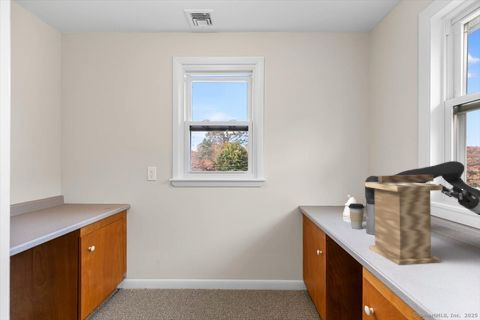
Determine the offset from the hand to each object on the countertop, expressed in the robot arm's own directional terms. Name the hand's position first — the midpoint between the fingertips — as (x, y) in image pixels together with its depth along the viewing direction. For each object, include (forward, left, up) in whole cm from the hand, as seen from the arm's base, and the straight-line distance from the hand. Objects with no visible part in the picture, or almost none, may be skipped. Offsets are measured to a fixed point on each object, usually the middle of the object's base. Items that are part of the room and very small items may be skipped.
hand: (445, 186), depth 141 cm
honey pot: (-52, +44, -30) cm, 74 cm away
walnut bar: (-16, -13, +3) cm, 21 cm away
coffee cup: (-45, +22, -30) cm, 58 cm away
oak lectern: (-17, -22, -30) cm, 41 cm away
